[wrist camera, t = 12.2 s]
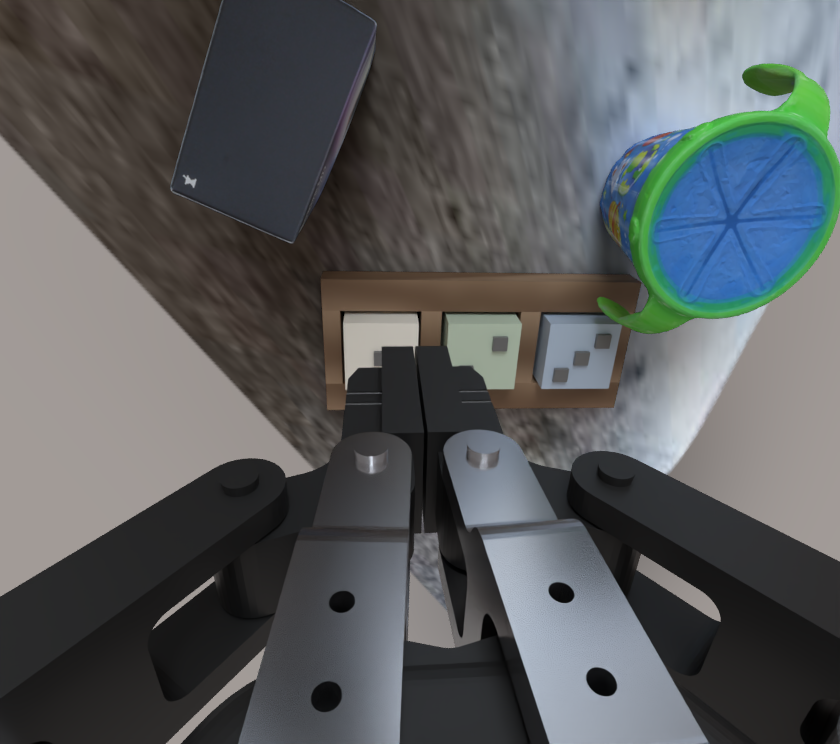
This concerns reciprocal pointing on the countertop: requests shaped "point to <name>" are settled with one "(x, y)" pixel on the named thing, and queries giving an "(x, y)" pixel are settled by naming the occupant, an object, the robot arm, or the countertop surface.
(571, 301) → the board
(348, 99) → the small box
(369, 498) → the robot arm
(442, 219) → the countertop surface
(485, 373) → the tile two
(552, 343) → the tile three
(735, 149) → the snack cup
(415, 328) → the tile one
